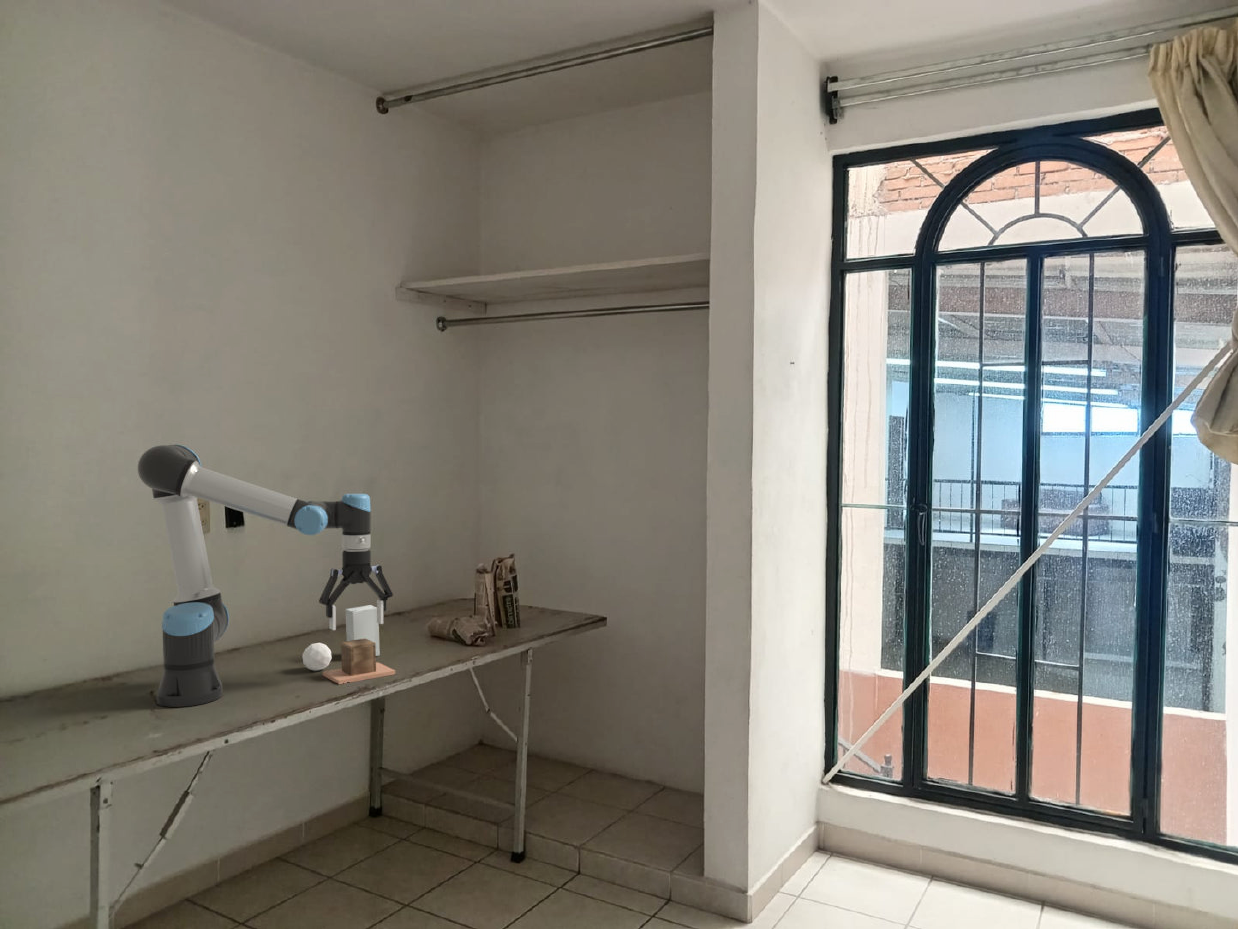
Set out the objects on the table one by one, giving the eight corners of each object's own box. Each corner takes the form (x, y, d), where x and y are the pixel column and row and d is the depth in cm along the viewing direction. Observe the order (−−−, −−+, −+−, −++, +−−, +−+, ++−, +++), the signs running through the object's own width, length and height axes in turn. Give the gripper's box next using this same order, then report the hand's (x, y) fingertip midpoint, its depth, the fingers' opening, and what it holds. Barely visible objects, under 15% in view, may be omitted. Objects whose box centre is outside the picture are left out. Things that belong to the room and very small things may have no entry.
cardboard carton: (351, 675, 246) (350, 646, 245) (341, 670, 251) (341, 642, 251) (376, 671, 250) (375, 642, 250) (365, 666, 255) (365, 638, 255)
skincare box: (372, 652, 276) (371, 604, 275) (380, 656, 271) (379, 607, 271) (345, 657, 271) (344, 607, 270) (353, 661, 266) (352, 610, 266)
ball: (310, 679, 257) (301, 654, 260) (338, 666, 259) (328, 642, 262) (305, 672, 250) (295, 646, 253) (333, 659, 253) (323, 634, 256)
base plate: (339, 684, 241) (338, 680, 241) (322, 675, 250) (322, 671, 250) (395, 674, 251) (395, 670, 251) (377, 665, 260) (377, 662, 260)
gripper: (316, 554, 239) (316, 634, 239) (404, 547, 254) (404, 622, 255) (306, 551, 245) (307, 629, 245) (393, 545, 260) (393, 618, 261)
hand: (356, 626), depth 250 cm, fingers open, 13 cm apart
